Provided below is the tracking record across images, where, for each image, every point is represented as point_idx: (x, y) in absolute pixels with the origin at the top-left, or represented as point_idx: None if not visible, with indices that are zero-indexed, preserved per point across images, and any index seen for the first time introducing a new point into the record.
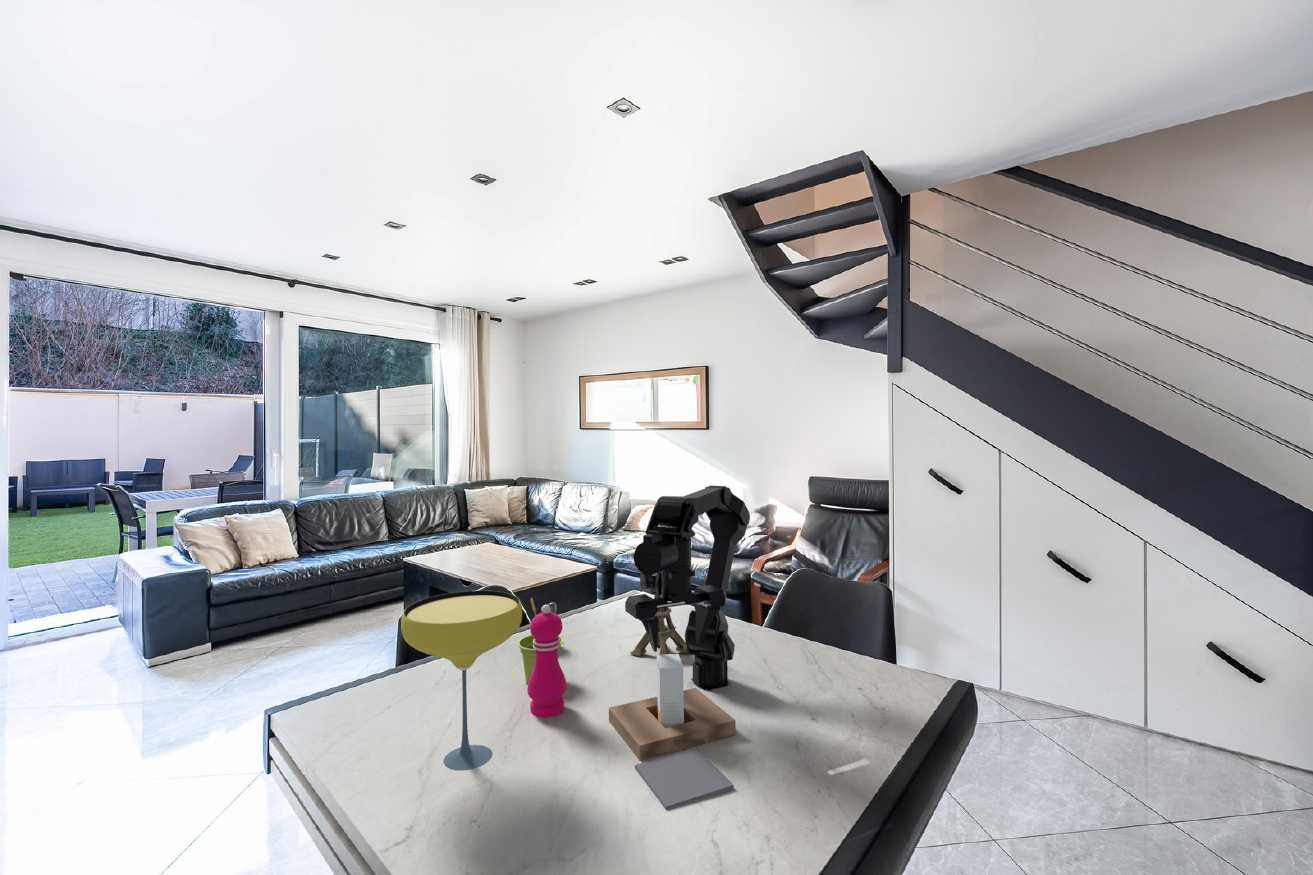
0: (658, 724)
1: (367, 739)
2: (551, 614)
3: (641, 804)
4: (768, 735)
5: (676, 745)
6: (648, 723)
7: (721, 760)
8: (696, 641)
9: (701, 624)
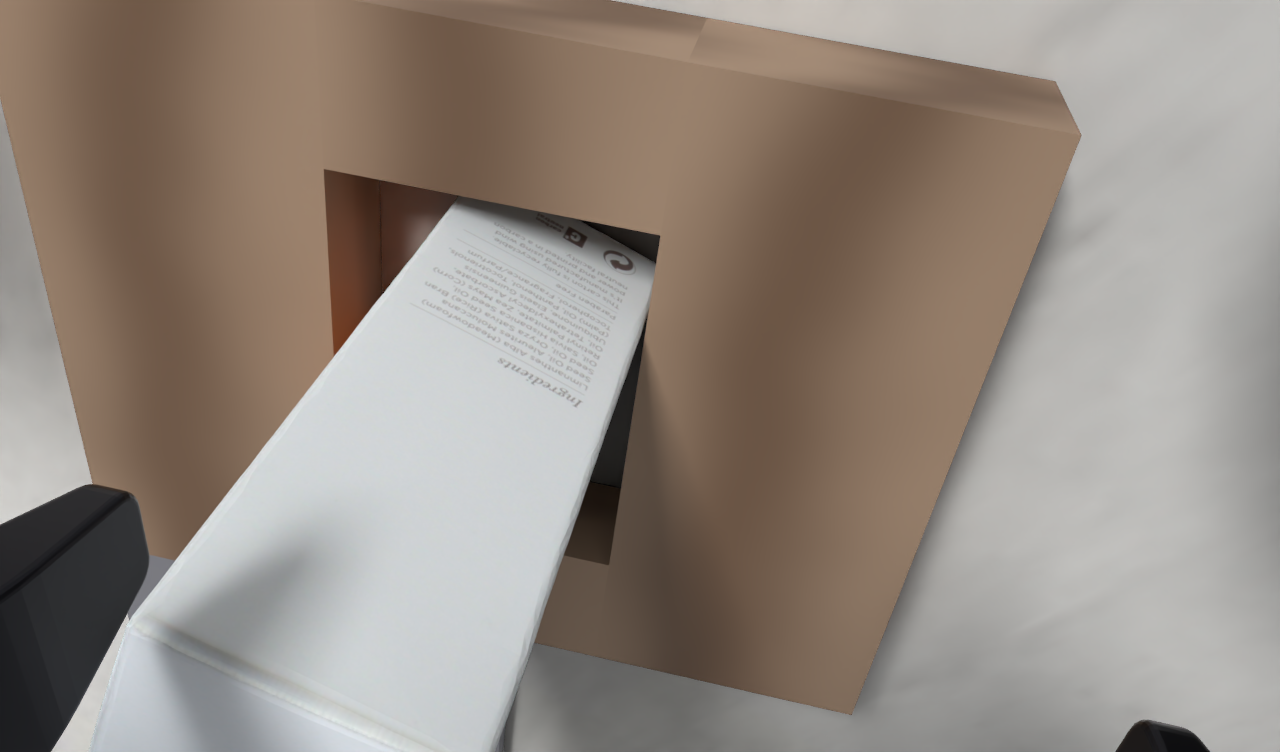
0: None
1: None
2: None
3: (91, 681)
4: (1017, 739)
5: None
6: (249, 391)
7: (587, 710)
8: (1139, 730)
9: None
